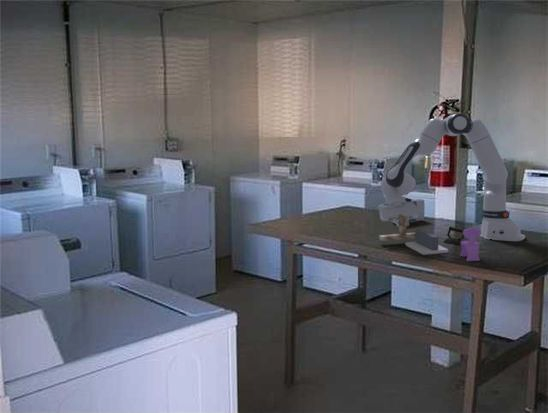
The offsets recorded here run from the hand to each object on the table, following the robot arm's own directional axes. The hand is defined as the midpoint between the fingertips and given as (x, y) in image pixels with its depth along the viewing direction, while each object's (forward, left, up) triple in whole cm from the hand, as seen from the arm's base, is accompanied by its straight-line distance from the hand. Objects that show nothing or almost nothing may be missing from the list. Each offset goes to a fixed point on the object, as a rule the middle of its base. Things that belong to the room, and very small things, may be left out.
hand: (403, 225), depth 311 cm
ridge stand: (-15, +5, -9) cm, 18 cm away
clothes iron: (-22, -15, -10) cm, 28 cm away
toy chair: (-39, +11, -9) cm, 41 cm away
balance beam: (0, 0, -7) cm, 7 cm away
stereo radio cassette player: (+22, -51, -9) cm, 57 cm away
